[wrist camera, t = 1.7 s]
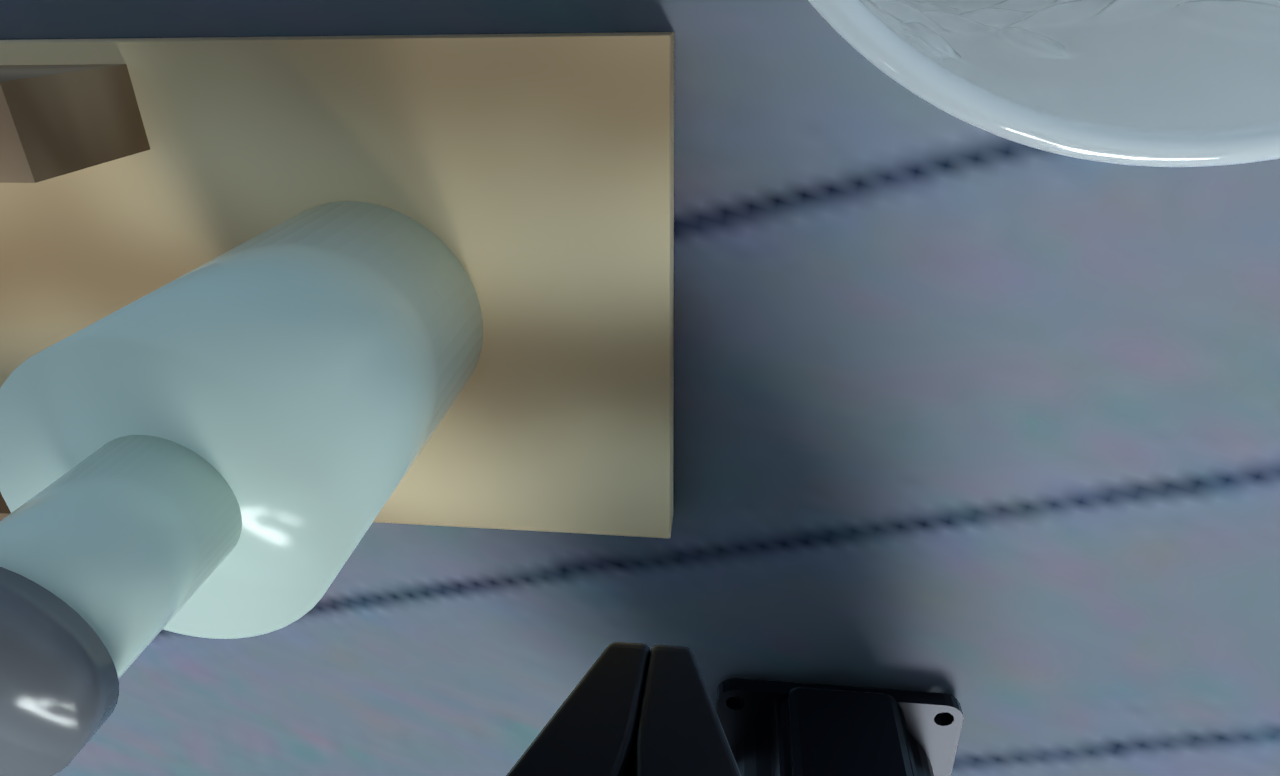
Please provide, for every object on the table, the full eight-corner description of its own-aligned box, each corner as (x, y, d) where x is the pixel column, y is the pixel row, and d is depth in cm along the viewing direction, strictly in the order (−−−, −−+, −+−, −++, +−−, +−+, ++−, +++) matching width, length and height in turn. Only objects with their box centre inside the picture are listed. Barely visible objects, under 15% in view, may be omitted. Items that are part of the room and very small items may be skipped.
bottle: (493, 421, 18) (244, 872, 9) (285, 413, 19) (-153, 832, 10) (469, 201, 16) (103, 505, 7) (232, 199, 17) (-404, 478, 7)
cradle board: (673, 513, 20) (656, 646, 16) (-149, 471, 23) (-339, 577, 19) (674, 31, 15) (650, 51, 11) (-380, 44, 18) (-709, 64, 14)
